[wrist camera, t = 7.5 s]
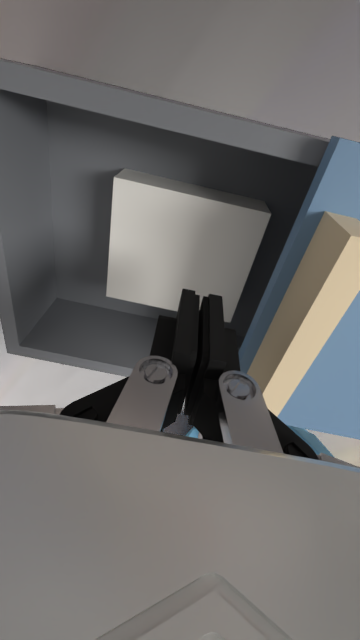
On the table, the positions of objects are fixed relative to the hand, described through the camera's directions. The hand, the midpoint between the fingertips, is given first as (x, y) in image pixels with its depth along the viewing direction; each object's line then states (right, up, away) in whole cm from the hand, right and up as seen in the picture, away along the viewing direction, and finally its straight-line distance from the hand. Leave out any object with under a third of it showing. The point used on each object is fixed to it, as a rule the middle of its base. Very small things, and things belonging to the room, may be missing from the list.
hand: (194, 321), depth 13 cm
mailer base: (0, +5, +7) cm, 8 cm away
